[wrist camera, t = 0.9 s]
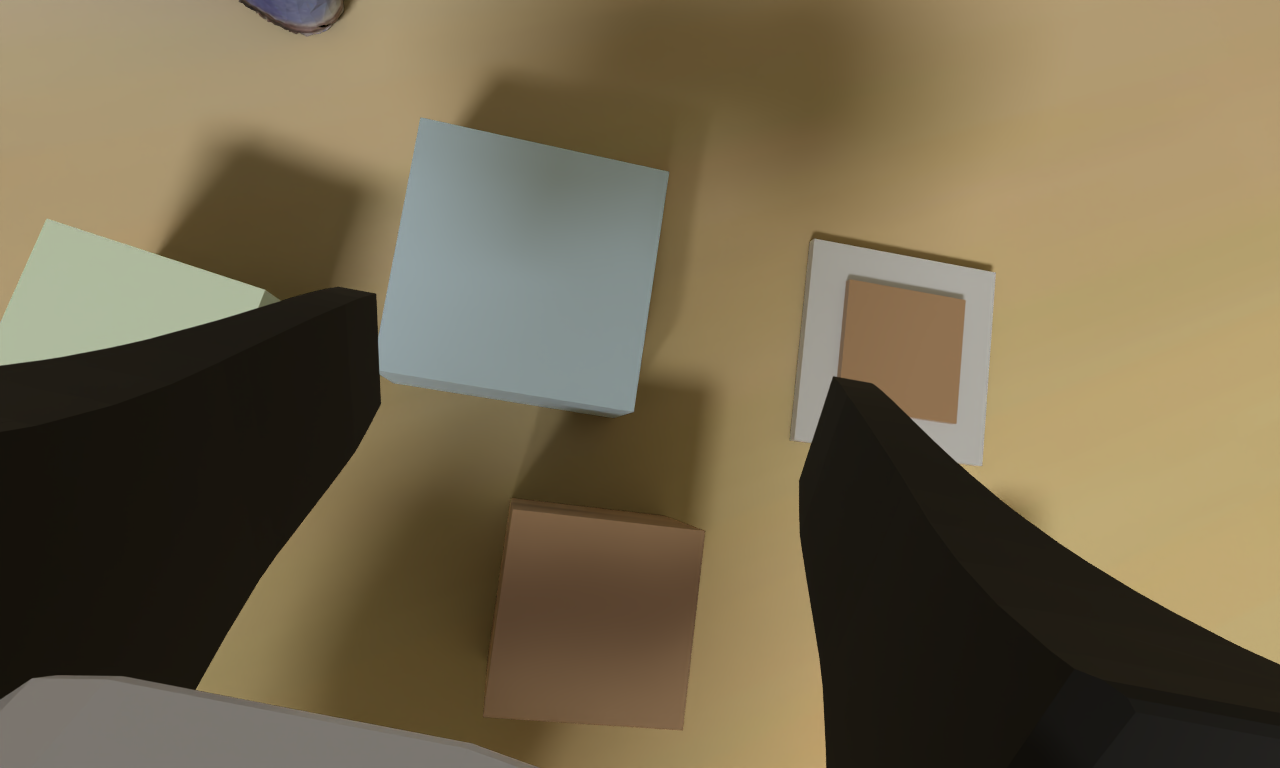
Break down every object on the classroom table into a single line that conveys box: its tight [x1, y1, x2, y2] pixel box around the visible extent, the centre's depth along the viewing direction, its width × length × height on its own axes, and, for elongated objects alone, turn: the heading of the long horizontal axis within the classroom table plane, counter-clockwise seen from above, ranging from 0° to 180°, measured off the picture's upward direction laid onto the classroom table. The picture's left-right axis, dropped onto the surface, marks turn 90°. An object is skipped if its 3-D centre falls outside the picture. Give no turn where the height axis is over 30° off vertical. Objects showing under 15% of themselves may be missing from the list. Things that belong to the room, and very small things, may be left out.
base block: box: [378, 118, 669, 418], centre depth 22 cm, size 7×7×4 cm
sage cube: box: [0, 219, 281, 366], centre depth 20 cm, size 5×5×5 cm
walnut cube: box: [483, 498, 705, 730], centre depth 21 cm, size 5×5×5 cm
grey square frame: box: [790, 239, 996, 466], centre depth 26 cm, size 7×7×1 cm
